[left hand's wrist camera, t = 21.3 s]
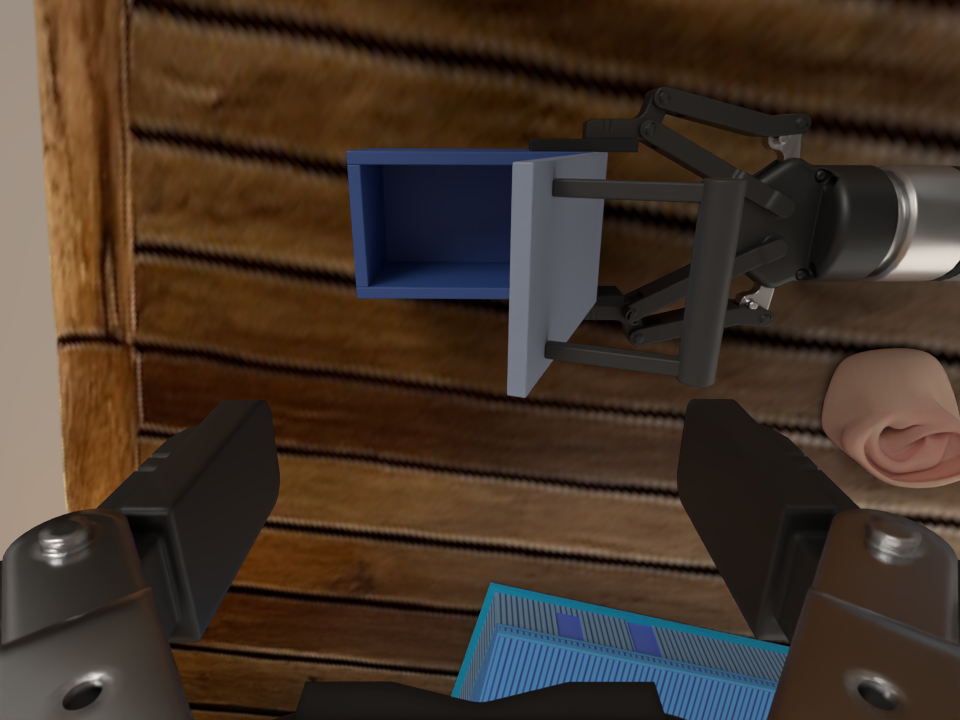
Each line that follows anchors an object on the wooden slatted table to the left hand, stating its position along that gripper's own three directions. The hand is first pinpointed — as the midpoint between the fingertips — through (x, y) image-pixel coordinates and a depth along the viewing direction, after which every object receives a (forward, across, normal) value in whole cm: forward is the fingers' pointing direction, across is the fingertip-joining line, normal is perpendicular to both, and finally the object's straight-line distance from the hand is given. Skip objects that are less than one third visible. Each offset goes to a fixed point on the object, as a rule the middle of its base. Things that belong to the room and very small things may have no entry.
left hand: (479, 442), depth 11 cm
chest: (+36, 0, 0) cm, 37 cm away
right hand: (+30, +3, 0) cm, 30 cm away
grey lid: (+19, +4, 0) cm, 20 cm away
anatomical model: (+36, +36, -17) cm, 54 cm away
